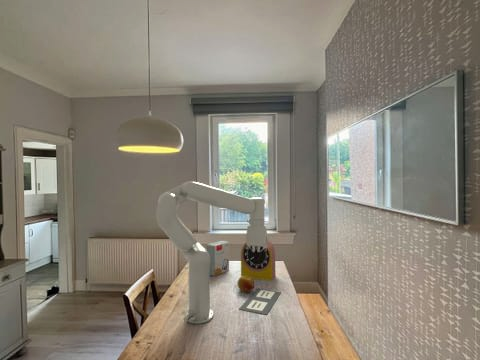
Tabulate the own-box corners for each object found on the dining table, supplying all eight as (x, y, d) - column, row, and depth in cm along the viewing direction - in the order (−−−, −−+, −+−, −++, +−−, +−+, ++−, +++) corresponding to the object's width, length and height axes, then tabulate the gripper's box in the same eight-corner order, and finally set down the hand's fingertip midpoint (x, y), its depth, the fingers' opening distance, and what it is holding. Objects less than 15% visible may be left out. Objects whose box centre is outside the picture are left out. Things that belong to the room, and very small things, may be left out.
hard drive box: (214, 276, 168) (214, 246, 168) (206, 274, 173) (205, 244, 173) (229, 270, 180) (229, 241, 181) (221, 268, 185) (221, 240, 185)
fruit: (257, 291, 145) (257, 277, 145) (245, 296, 139) (245, 281, 139) (246, 286, 152) (246, 272, 152) (234, 290, 147) (234, 276, 147)
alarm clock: (240, 276, 168) (240, 235, 168) (245, 271, 176) (245, 233, 177) (272, 280, 160) (271, 238, 160) (275, 275, 168) (275, 235, 168)
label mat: (266, 315, 119) (266, 314, 119) (238, 309, 124) (238, 308, 124) (281, 292, 143) (281, 291, 143) (257, 288, 148) (257, 287, 148)
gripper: (240, 222, 129) (240, 259, 128) (269, 224, 123) (269, 263, 123) (245, 220, 136) (245, 255, 135) (273, 222, 130) (273, 258, 130)
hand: (256, 259), depth 129 cm, fingers closed
